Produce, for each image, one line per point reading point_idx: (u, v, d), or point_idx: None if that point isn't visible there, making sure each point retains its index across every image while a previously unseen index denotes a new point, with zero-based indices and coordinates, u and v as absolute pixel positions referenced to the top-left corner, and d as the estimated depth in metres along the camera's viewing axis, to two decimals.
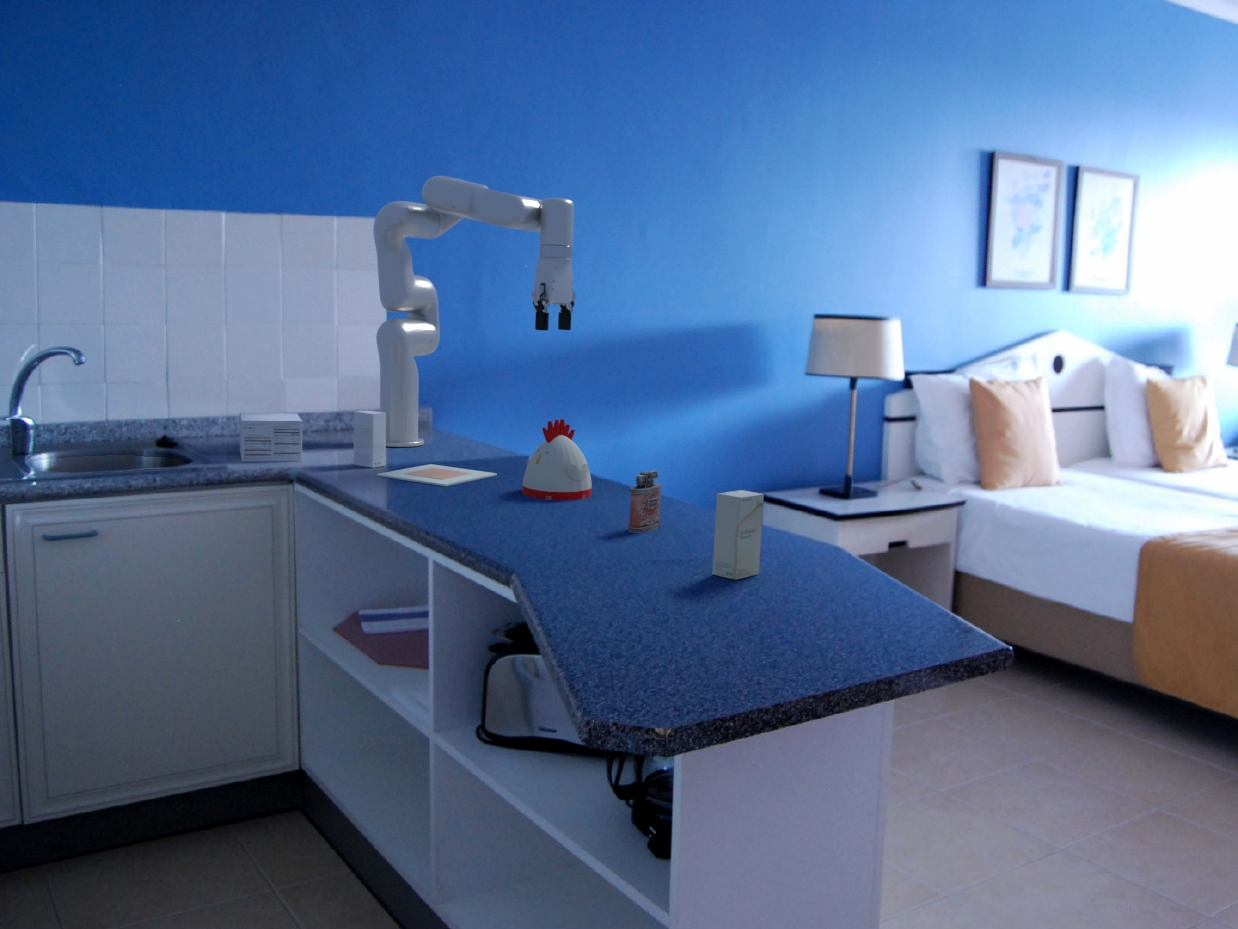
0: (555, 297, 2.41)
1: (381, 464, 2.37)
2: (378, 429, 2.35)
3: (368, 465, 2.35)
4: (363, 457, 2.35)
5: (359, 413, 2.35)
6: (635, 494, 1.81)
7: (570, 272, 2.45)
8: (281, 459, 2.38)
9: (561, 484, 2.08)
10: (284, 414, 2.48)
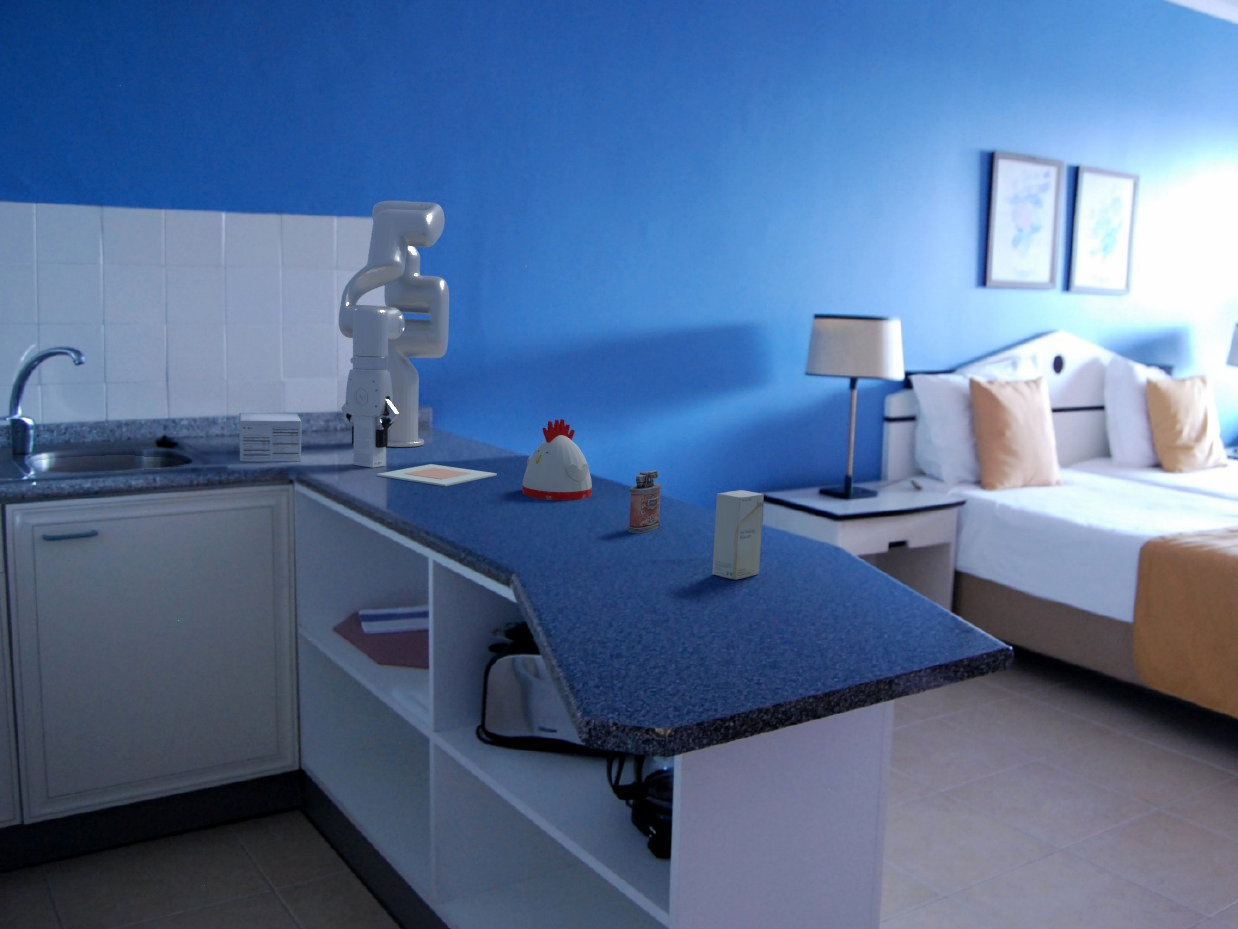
0: None
1: (381, 464, 2.37)
2: None
3: (368, 465, 2.35)
4: (363, 457, 2.35)
5: None
6: (635, 494, 1.81)
7: None
8: (280, 459, 2.38)
9: (561, 484, 2.08)
10: (284, 414, 2.48)
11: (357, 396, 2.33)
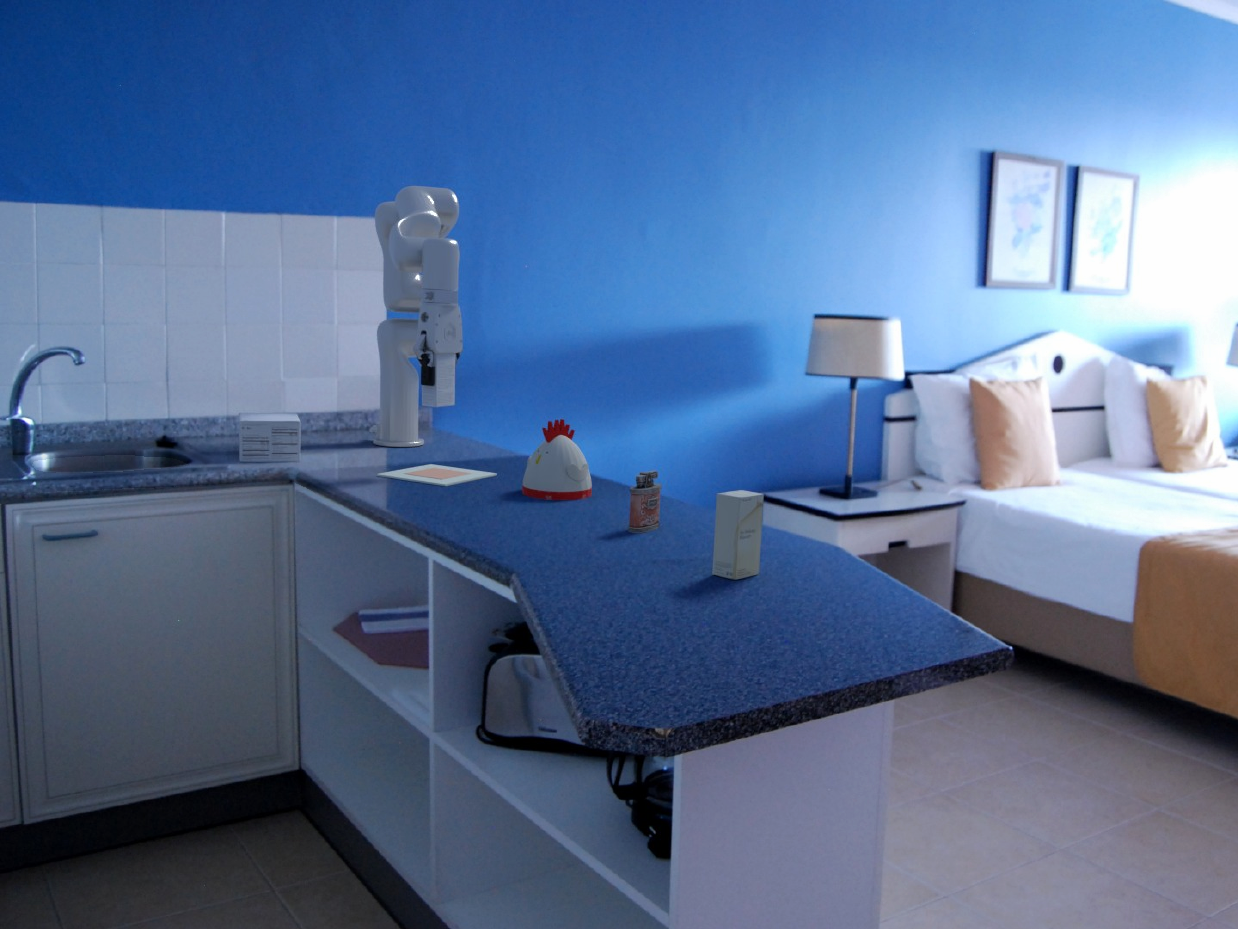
0: None
1: None
2: None
3: (451, 403, 2.27)
4: (446, 396, 2.25)
5: None
6: (635, 495, 1.81)
7: None
8: (279, 459, 2.37)
9: (560, 484, 2.08)
10: (283, 414, 2.48)
11: (446, 333, 2.22)
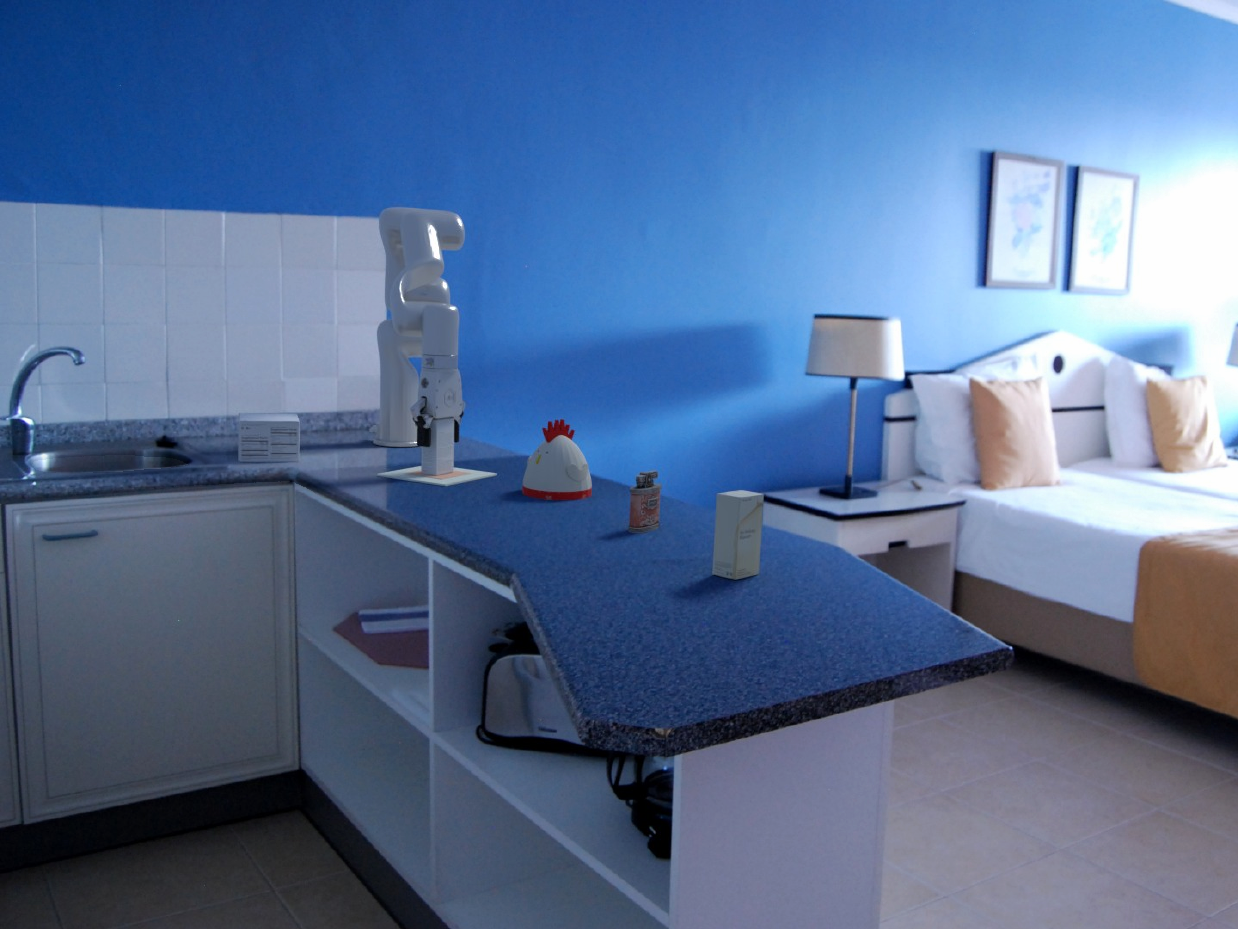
0: None
1: None
2: None
3: (450, 471, 2.29)
4: (445, 464, 2.28)
5: (441, 420, 2.25)
6: (635, 495, 1.81)
7: None
8: (278, 459, 2.37)
9: (560, 484, 2.08)
10: (283, 414, 2.48)
11: (446, 398, 2.24)
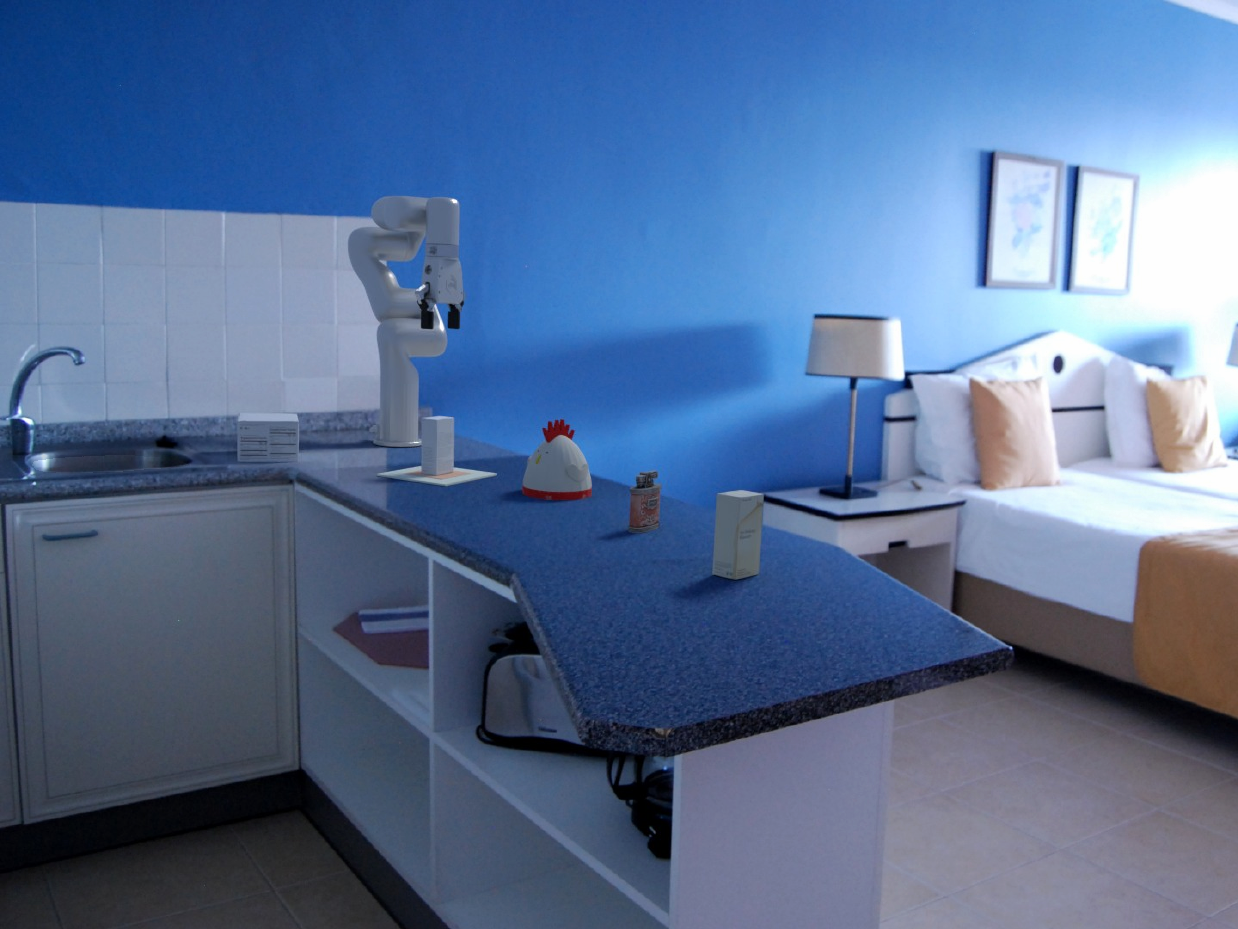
0: None
1: None
2: None
3: (450, 471, 2.29)
4: (445, 464, 2.28)
5: (441, 420, 2.25)
6: (635, 495, 1.81)
7: None
8: (277, 459, 2.37)
9: (561, 484, 2.08)
10: (282, 414, 2.48)
11: (448, 284, 2.43)
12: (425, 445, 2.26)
